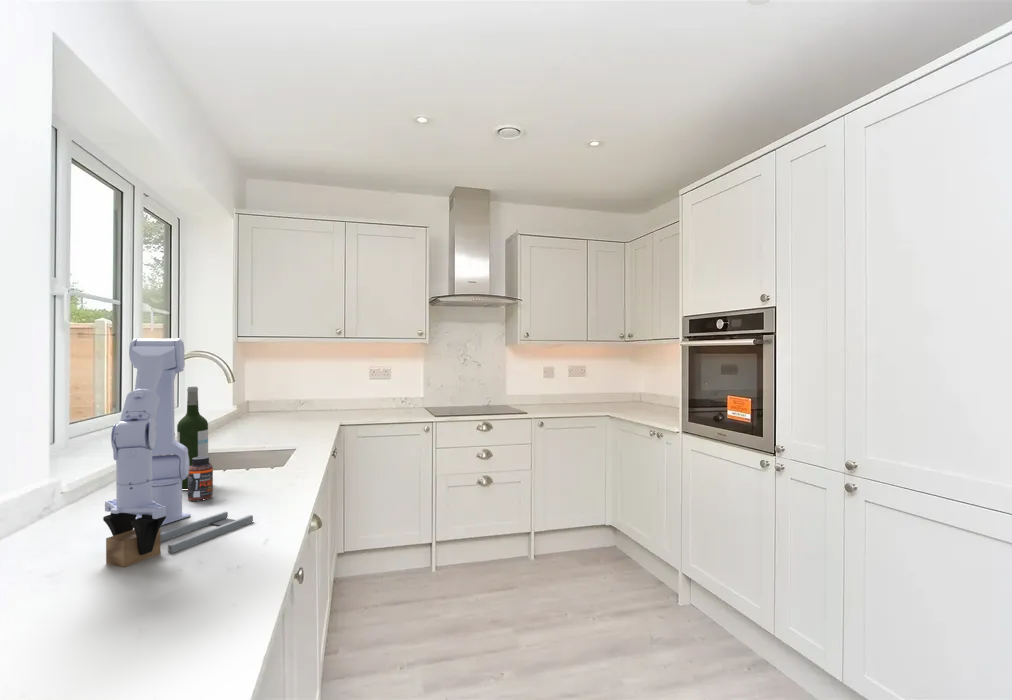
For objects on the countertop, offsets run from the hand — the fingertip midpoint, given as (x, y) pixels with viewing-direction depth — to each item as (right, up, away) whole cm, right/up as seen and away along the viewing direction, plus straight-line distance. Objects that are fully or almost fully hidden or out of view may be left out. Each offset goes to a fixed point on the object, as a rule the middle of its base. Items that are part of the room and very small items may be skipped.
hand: (134, 550), depth 100 cm
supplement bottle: (-12, -2, +41) cm, 42 cm away
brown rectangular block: (0, -2, 0) cm, 2 cm away
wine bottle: (-21, -2, +53) cm, 57 cm away
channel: (+5, -1, +13) cm, 14 cm away
